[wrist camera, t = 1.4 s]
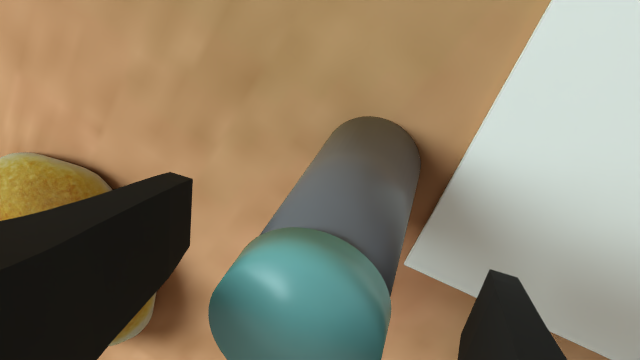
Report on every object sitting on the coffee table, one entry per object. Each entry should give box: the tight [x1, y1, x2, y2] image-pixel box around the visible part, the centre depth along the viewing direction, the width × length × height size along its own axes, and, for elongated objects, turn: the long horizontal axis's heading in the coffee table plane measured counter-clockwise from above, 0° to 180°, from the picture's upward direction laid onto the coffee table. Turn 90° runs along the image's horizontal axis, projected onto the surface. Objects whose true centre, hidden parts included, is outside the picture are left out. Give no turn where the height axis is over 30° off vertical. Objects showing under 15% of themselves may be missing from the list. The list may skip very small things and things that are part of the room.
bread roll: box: [0, 152, 156, 346], centre depth 20 cm, size 8×9×4 cm
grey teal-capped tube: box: [208, 116, 421, 360], centre depth 13 cm, size 3×3×8 cm
